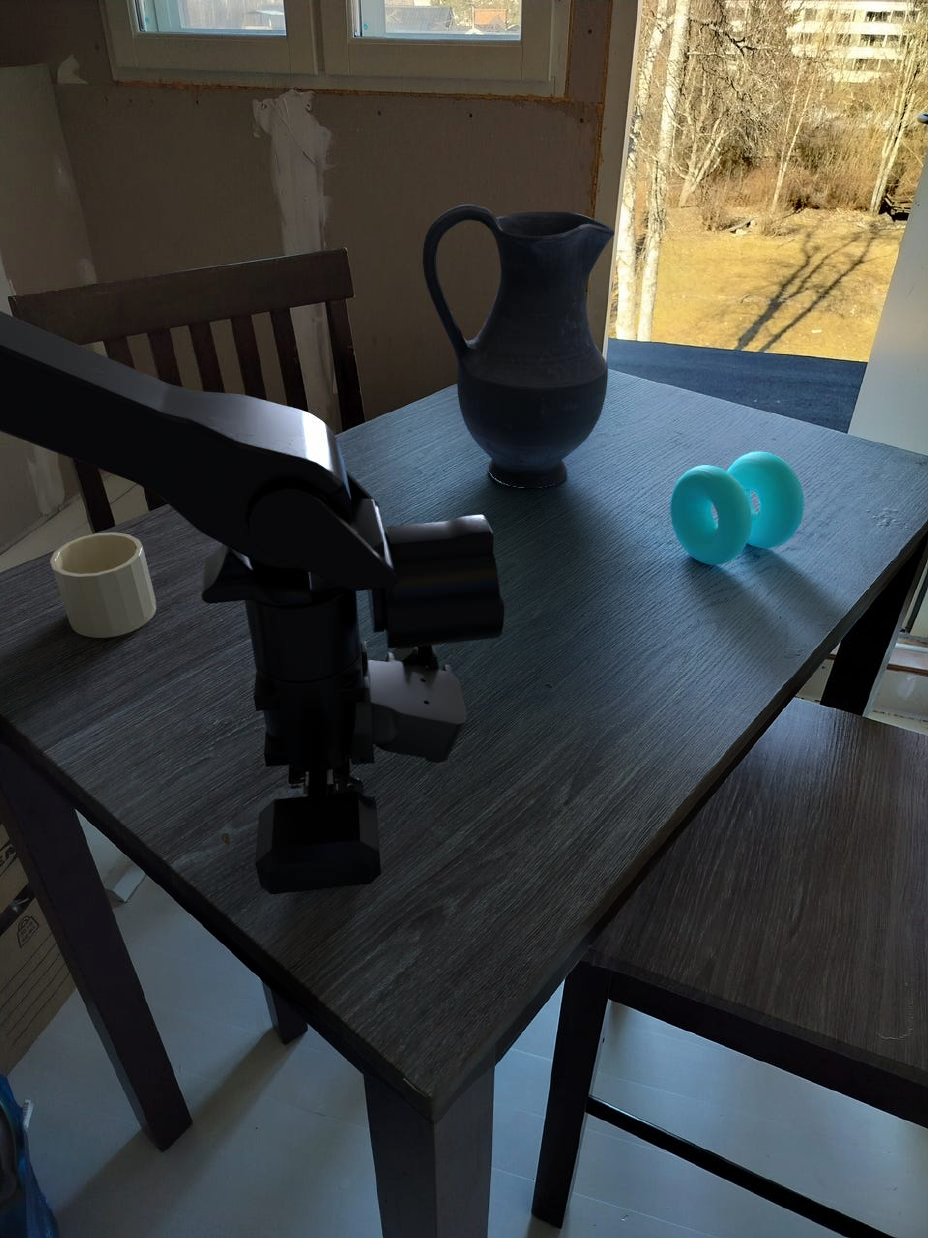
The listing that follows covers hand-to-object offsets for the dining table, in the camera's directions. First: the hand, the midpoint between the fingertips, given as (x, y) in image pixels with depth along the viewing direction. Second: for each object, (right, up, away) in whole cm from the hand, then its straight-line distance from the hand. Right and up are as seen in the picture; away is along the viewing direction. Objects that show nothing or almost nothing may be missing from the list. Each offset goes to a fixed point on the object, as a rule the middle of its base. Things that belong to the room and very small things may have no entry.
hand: (331, 842), depth 55 cm
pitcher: (+14, +32, +49) cm, 60 cm away
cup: (-24, +15, +24) cm, 37 cm away
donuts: (+36, +21, +34) cm, 54 cm away
